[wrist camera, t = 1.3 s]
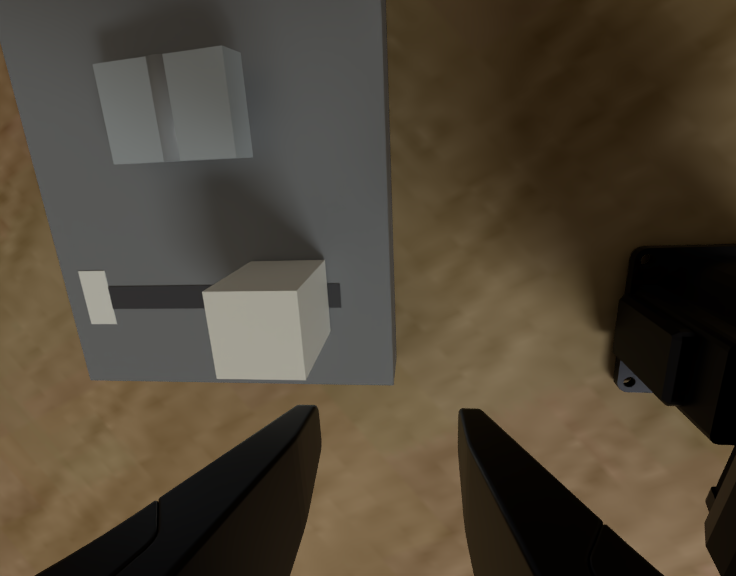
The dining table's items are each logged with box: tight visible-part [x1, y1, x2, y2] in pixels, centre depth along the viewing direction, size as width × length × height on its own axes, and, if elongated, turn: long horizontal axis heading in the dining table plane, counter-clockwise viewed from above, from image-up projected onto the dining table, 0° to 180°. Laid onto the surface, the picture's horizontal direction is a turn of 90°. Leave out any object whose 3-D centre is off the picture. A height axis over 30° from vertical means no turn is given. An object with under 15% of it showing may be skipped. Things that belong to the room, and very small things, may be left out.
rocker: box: [93, 45, 253, 164], centre depth 14 cm, size 5×3×1 cm, turn 93°
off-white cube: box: [202, 260, 331, 380], centre depth 15 cm, size 3×3×4 cm
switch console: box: [0, 0, 396, 385], centre depth 16 cm, size 14×22×3 cm, turn 3°
